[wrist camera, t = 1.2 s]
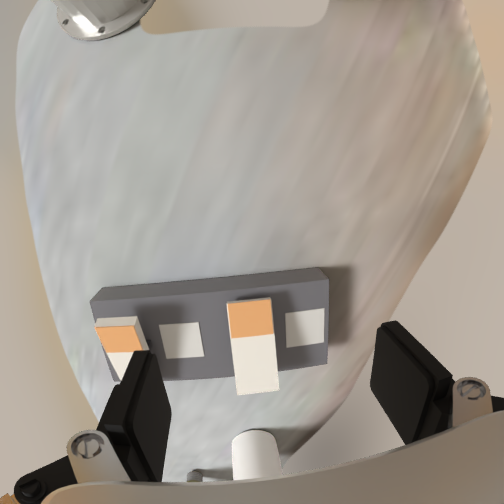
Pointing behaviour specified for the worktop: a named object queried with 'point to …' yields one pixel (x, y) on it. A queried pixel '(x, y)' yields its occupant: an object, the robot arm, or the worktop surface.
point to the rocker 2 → (253, 345)
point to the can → (255, 455)
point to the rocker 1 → (120, 340)
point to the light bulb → (194, 477)
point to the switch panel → (222, 320)
